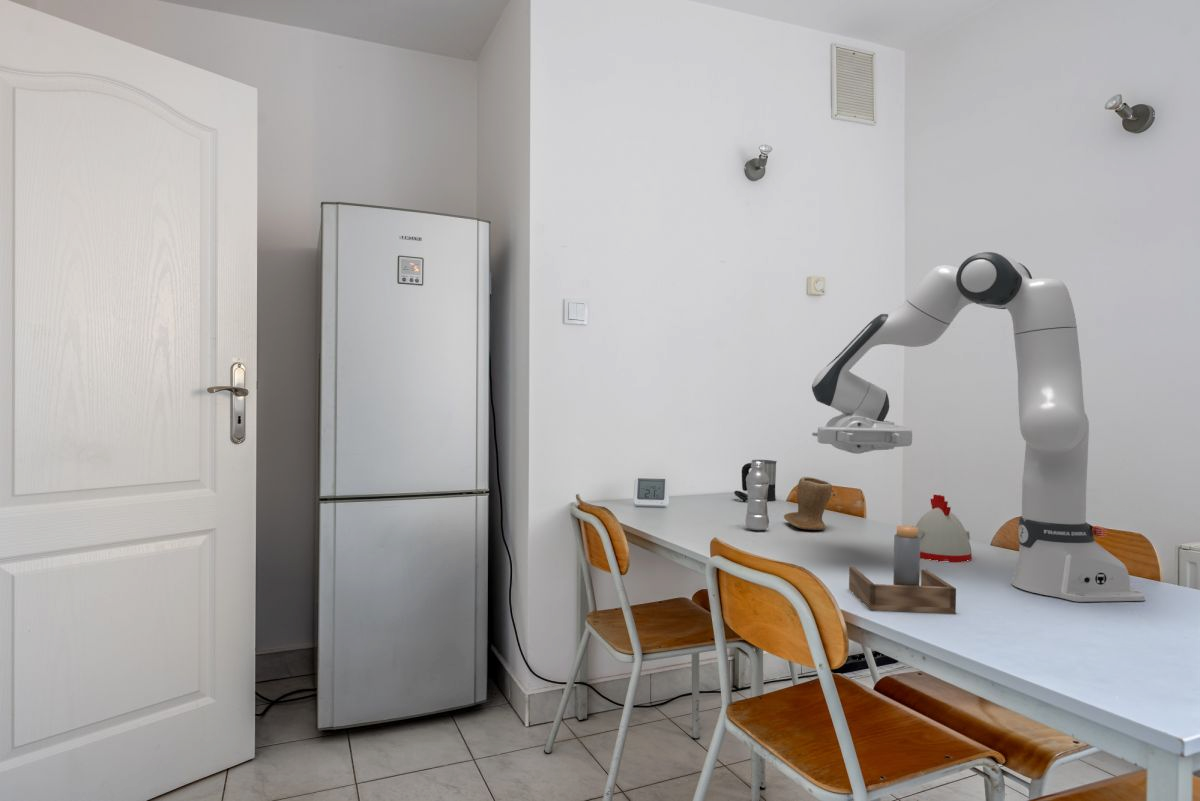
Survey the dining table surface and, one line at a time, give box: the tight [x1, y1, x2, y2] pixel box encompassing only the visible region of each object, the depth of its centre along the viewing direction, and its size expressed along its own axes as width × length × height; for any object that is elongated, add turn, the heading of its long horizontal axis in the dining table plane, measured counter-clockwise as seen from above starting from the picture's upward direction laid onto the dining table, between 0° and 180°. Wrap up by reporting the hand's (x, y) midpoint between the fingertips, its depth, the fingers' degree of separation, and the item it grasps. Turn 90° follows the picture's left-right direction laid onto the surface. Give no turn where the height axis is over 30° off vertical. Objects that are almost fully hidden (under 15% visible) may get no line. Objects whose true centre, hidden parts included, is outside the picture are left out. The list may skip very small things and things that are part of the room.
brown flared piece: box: [783, 476, 833, 531], centre depth 208 cm, size 15×12×15 cm
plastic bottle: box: [744, 460, 770, 532], centre depth 203 cm, size 6×7×20 cm
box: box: [848, 566, 957, 615], centre depth 134 cm, size 15×14×4 cm
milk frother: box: [734, 459, 778, 502], centre depth 263 cm, size 14×16×15 cm
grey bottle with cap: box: [892, 525, 921, 586], centre depth 130 cm, size 4×4×14 cm
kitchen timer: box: [911, 494, 972, 563], centre depth 173 cm, size 14×14×15 cm
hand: (873, 437), depth 151 cm, fingers open, 8 cm apart
